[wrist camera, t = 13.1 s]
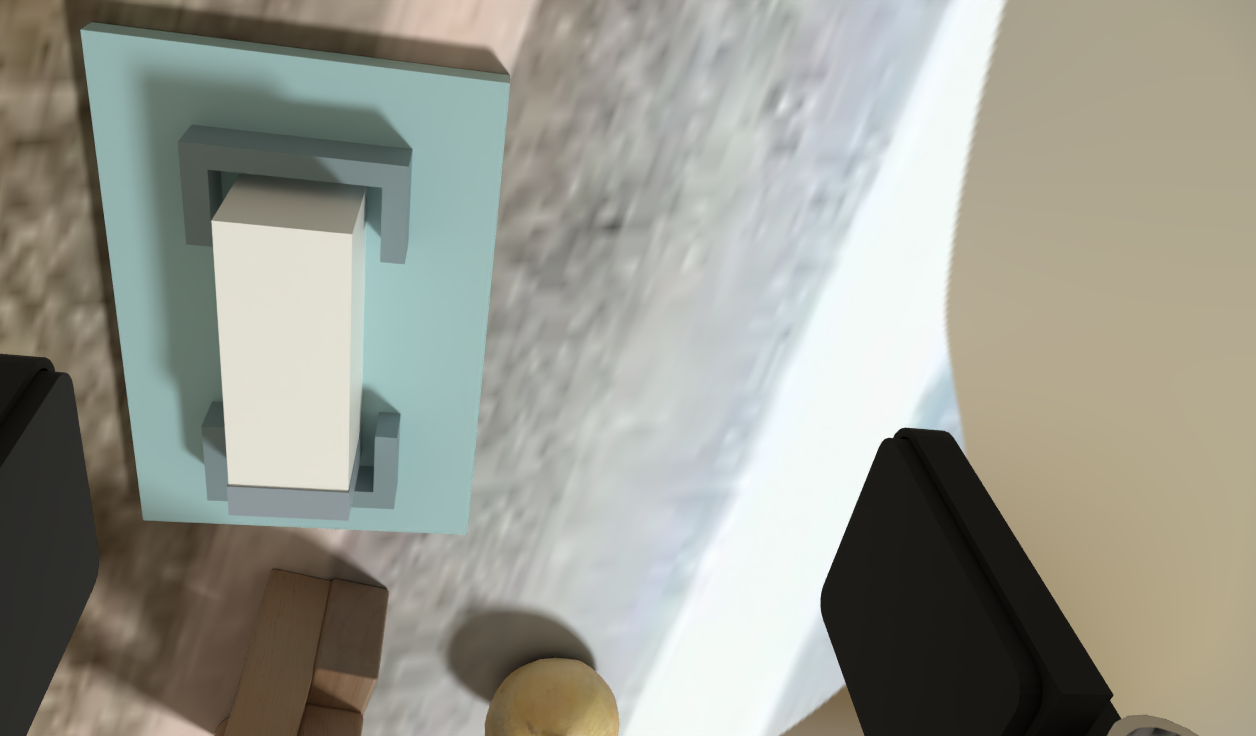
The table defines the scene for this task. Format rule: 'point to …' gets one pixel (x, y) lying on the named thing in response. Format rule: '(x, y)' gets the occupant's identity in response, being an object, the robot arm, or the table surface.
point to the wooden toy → (310, 659)
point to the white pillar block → (291, 343)
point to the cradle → (394, 262)
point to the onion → (553, 702)
